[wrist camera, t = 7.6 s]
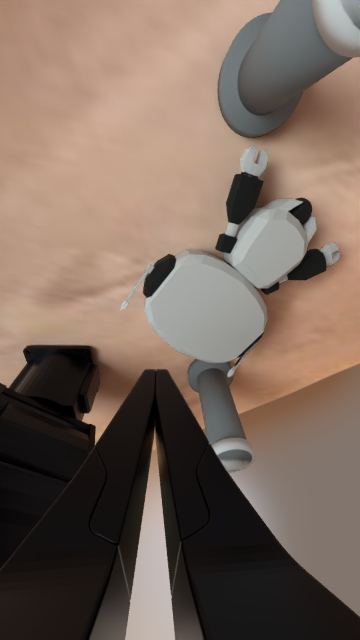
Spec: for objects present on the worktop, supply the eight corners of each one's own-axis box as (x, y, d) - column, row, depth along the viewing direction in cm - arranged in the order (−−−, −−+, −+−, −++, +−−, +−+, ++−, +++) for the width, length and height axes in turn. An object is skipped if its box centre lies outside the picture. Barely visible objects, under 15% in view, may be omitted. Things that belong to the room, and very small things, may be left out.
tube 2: (212, 133, 15) (278, 67, 7) (224, 20, 13) (355, -320, 4) (283, 140, 16) (429, 86, 7) (308, 32, 13) (581, -253, 5)
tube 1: (186, 386, 27) (197, 478, 19) (189, 354, 25) (204, 443, 16) (226, 386, 28) (255, 475, 19) (233, 354, 25) (270, 441, 17)
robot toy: (236, 139, 16) (120, 295, 21) (264, 119, 12) (113, 317, 17) (325, 248, 21) (215, 357, 25) (366, 259, 17) (227, 386, 21)
